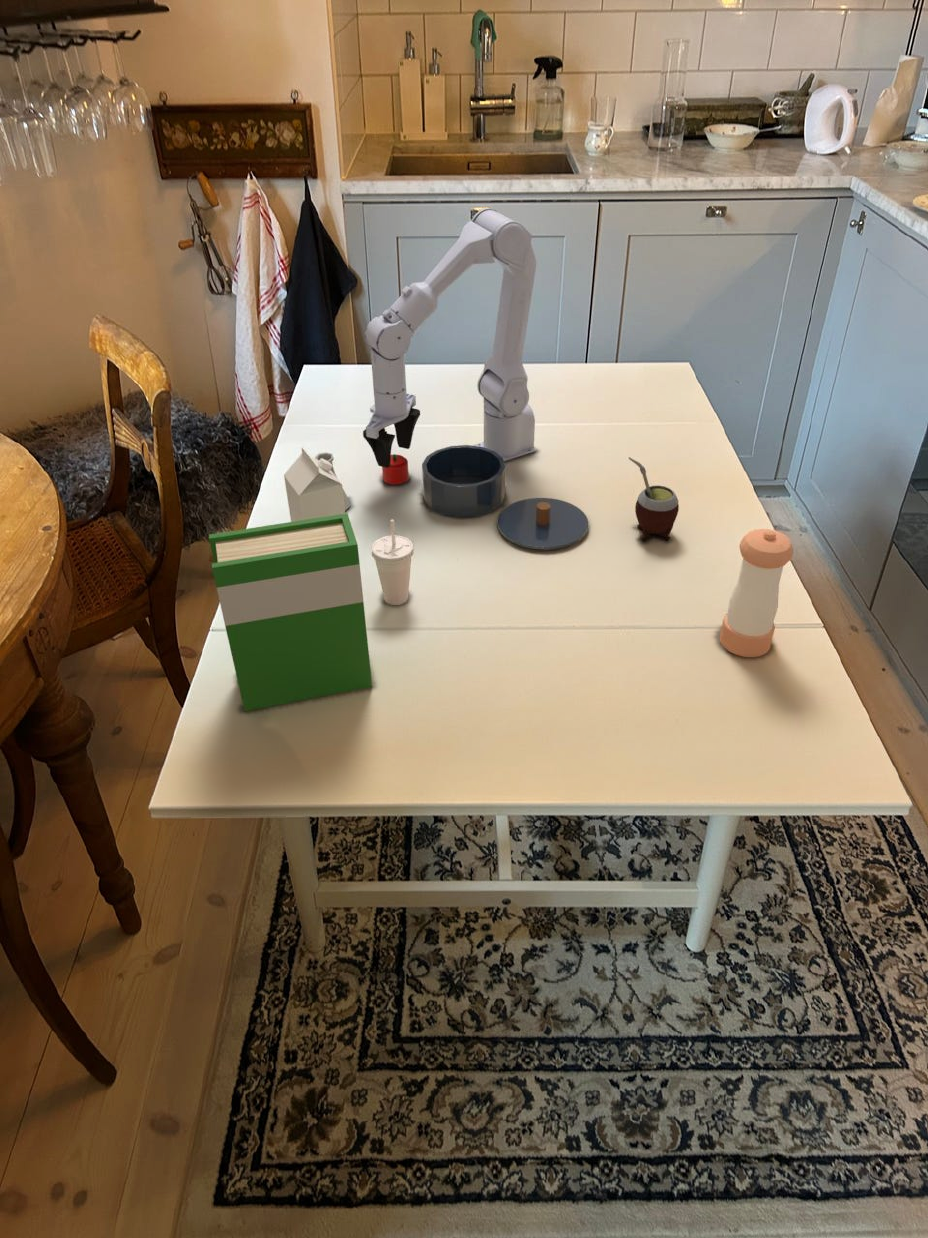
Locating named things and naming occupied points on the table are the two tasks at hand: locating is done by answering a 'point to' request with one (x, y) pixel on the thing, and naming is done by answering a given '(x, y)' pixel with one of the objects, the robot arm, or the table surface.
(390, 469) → the red pepper
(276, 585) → the hardback book
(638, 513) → the mate gourd
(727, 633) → the pepper shaker
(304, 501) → the milk carton
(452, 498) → the pot
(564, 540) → the lid
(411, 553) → the smoothie
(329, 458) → the flask
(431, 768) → the table surface
